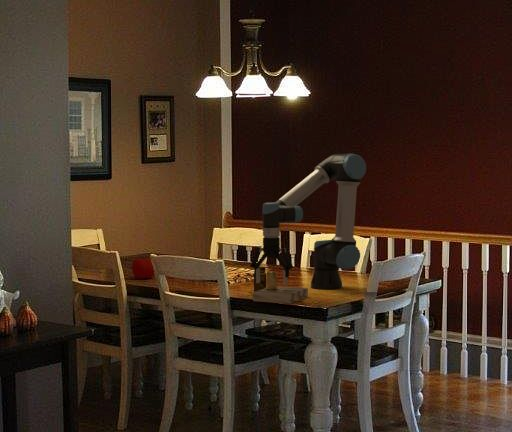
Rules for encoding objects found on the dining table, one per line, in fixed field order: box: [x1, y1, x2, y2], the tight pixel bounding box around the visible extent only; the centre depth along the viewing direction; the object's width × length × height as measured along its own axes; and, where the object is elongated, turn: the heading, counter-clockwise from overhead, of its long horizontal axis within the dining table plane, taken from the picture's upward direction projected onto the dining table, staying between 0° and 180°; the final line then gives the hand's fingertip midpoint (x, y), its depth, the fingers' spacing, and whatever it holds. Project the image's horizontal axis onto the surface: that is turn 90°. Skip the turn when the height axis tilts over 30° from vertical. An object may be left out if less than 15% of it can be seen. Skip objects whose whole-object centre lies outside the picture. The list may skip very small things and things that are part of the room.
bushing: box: [266, 271, 278, 291], centre depth 449 cm, size 4×4×12 cm
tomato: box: [131, 256, 155, 280], centre depth 519 cm, size 12×13×12 cm
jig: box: [252, 285, 309, 305], centre depth 448 cm, size 20×18×4 cm
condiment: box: [250, 266, 267, 292], centre depth 468 cm, size 7×8×12 cm
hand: (271, 283), depth 449 cm, fingers open, 13 cm apart
